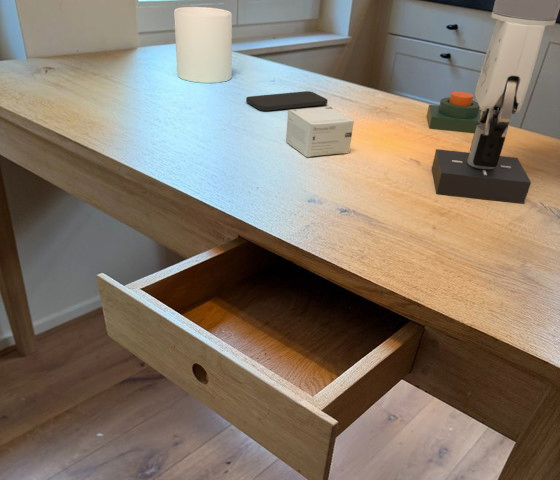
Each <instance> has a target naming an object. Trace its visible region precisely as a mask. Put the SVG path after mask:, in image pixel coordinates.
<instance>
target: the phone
mask: <svg viewBox="0 0 560 480" xmlns="http://www.w3.org/2000/svg"><path fill="white" fill-rule="evenodd" d="M245 102H246V103H247V104H249V105H250V106H252V107H254V108H256V109H257V110H258V111H263V112H265V111H267V112H269V111H276V110H277V111H278V110H286V109H287V110H289V109H298V108H308V107H315V106H324V105H328V98H326V97H324V96H322V95H320V94H318V93H316V92H314V91H309V90H305V91H304V90H303V91H294V92H293V91H292V92H283V93H271V94H262V95H251V96H246V97H245Z"/></svg>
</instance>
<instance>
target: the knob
mask: <svg viewBox="0 0 560 480" xmlns="http://www.w3.org/2000/svg"><path fill="white" fill-rule="evenodd" d="M485 124H486V123H483V124H478V125H477V127H476V131H475V134H474V133H473V137H474V138H472V140H473V142H472V141H471V144H472V146H471V145H470V148H471V149H470V148H469V152H468V153H469V157H468V160H467V163H468V164H469V165H470V166H472V167H475V168H479V169H494V168H495V167H486V166H477V165H474V164H473V160H474V156H475V152H476V149H477V145H478V141H479V138H480V134H483V132H484V128H485Z"/></svg>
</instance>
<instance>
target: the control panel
mask: <svg viewBox="0 0 560 480" xmlns="http://www.w3.org/2000/svg"><path fill="white" fill-rule="evenodd" d="M469 153H470V152H469V151H468V152H466V151H458V150H449V149H435V152H434V155H433V161H432V165H431V173H432V177H433V183H434V189H435V193H436V195H441V196H443V195H444V196H452V197H459V198H460V197H461V198H469V199H479V200H489V201H497V202H505V203H514V204H525V201H526V198H527V195H528V192H529V190H530V187H531V184H532V182H531V180H530V178H529V176H528V174H527V172H526V171H525V169H524V167H523V165H522V164H521V161H520V160H519V158H518V157H514V156H504V155H500V157H499V161H498V164H497V166H496V167H495V168H494V169H479V168H475V167H472V166H470V165H469V164H468V163H467V160H468V157H469Z"/></svg>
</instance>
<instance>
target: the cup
mask: <svg viewBox="0 0 560 480" xmlns="http://www.w3.org/2000/svg"><path fill="white" fill-rule="evenodd" d="M173 18H174V37H175V57H176V58H175V59H176V75H177V77H178V78H179V79H181V80H184V81H187V82H192V83H201V84H216V83H217V84H218V83H224V82H225V83H226V82H228V81H230V80H231V79H232V76H233V74H232V73H233V71H232V70H233V13H232V12H231V11H229V10H226V9H222V8H216V7H204V6H183V7H177V8H175V9H174V10H173Z"/></svg>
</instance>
